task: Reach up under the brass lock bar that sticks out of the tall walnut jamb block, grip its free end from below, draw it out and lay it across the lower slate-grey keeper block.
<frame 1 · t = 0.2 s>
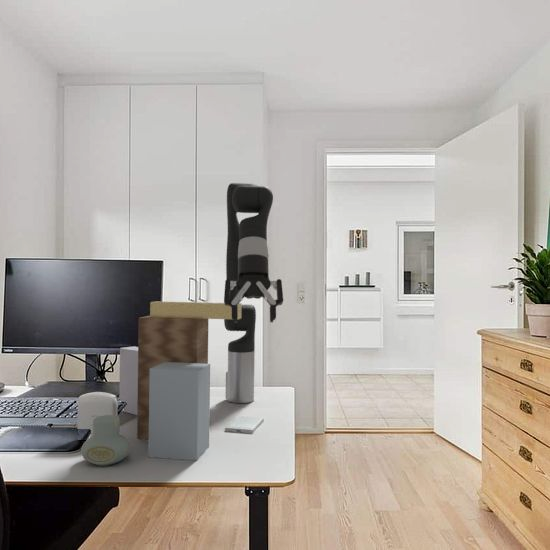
hand: (253, 321, 125), 32 cm above the table, tool tilted 20°, fingers open, 8 cm apart
game console: (153, 417, 159), on the table
photo printer: (97, 440, 136), on the table
air freshener: (106, 462, 121), on the table
lock bar: (195, 317, 139), point 32 cm above the table, touching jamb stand
hard drive: (244, 428, 150), on the table
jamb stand: (172, 436, 140), on the table
keeper block: (179, 451, 128), on the table
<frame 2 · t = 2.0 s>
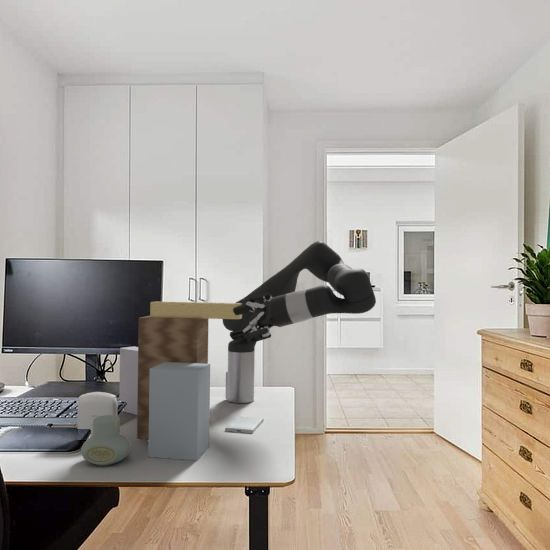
hand: (232, 323, 132), 31 cm above the table, tool tilted 75°, fingers open, 8 cm apart
lock bar: (196, 317, 139), point 32 cm above the table
everything else where it was.
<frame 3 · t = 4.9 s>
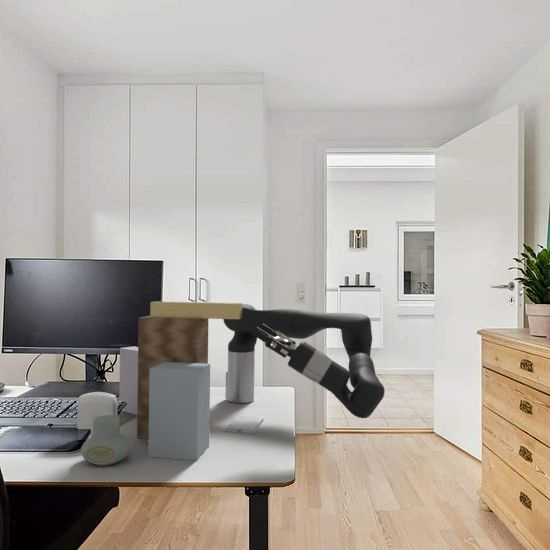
hand: (257, 328, 136), 30 cm above the table, tool pointing upward, fingers open, 8 cm apart
lock bar: (196, 317, 139), point 32 cm above the table, touching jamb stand
everything else where it was.
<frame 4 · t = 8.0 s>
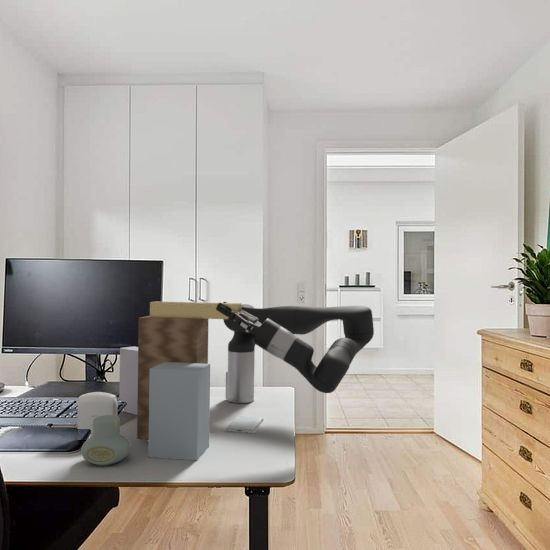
hand: (220, 305, 138), 35 cm above the table, tool pointing upward, fingers closed on lock bar, 4 cm apart
lock bar: (195, 317, 139), point 32 cm above the table, touching gripper, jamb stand
everything else where it was.
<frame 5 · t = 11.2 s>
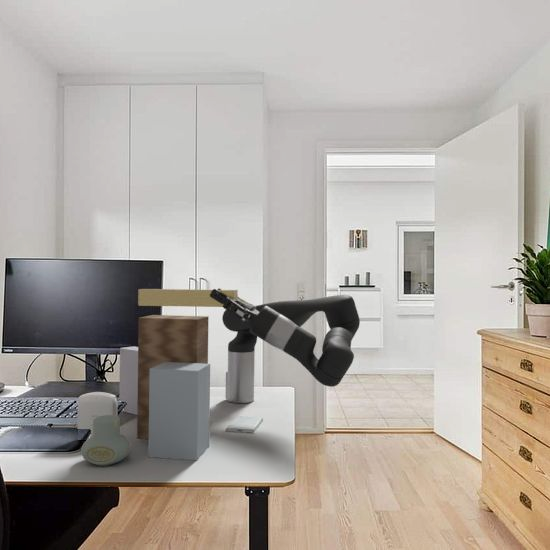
hand: (214, 292, 127), 39 cm above the table, tool pointing upward, fingers closed on lock bar, 4 cm apart
lock bar: (188, 305, 128), point 36 cm above the table, touching gripper
everything else where it was.
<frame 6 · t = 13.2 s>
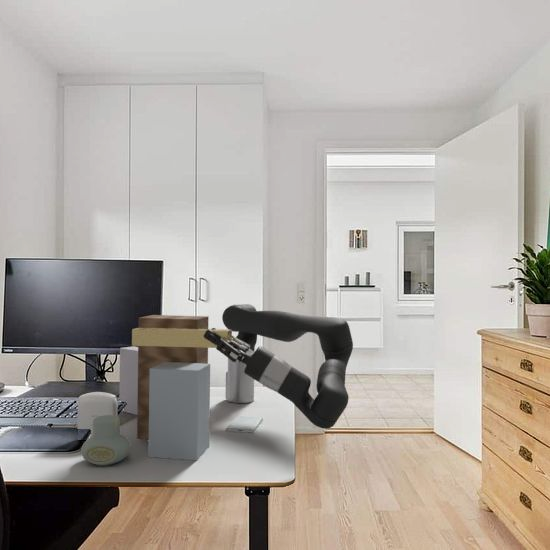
hand: (208, 332, 126), 30 cm above the table, tool pointing upward, fingers closed on lock bar, 4 cm apart
lock bar: (181, 345, 127), point 26 cm above the table, touching gripper
everything else where it was.
when the fingers open (25 cm above the table, at t = 14.8 s): lock bar stays where it is, resting on keeper block.
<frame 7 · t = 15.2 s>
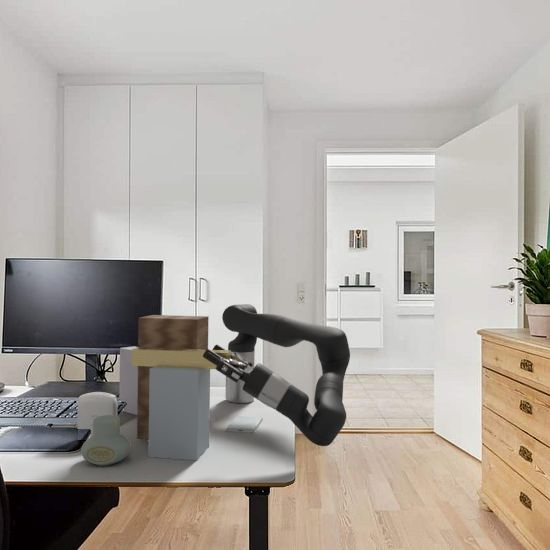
hand: (209, 349, 127), 25 cm above the table, tool pointing upward, fingers open, 7 cm apart
lock bar: (181, 366, 128), point 21 cm above the table, touching keeper block
everything else where it was.
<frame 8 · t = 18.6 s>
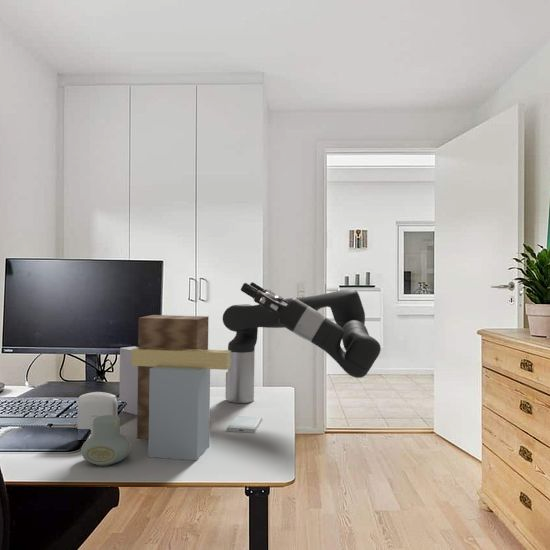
hand: (246, 285, 130), 41 cm above the table, tool pointing upward, fingers open, 8 cm apart
nothing on the table moved.
at the end: lock bar inside the target area (0.1 cm from its centre), point 21.0 cm above the table; lock bar touching keeper block; the gripper is holding nothing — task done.
